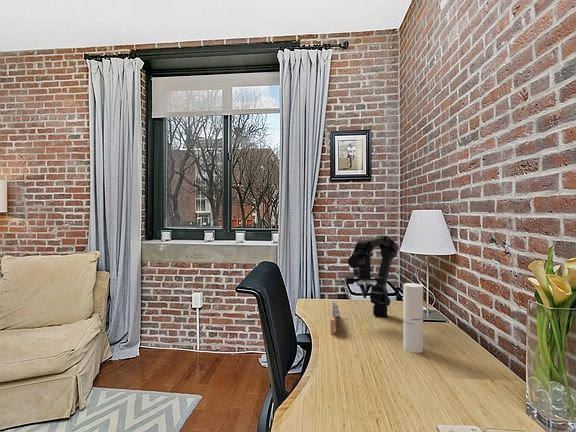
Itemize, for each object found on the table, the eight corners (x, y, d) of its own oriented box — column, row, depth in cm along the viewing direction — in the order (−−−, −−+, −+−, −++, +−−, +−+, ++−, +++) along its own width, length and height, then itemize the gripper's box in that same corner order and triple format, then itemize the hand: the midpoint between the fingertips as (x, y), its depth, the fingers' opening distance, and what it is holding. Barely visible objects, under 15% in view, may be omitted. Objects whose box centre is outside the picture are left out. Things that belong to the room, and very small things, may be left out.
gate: (333, 320, 159) (333, 306, 159) (337, 320, 159) (337, 306, 159) (335, 332, 143) (335, 316, 143) (340, 332, 143) (340, 316, 143)
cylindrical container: (424, 353, 123) (424, 287, 123) (404, 352, 125) (404, 286, 124) (420, 346, 130) (421, 283, 130) (402, 344, 132) (402, 282, 131)
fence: (335, 315, 169) (335, 301, 169) (340, 334, 142) (340, 317, 142) (328, 315, 170) (328, 300, 170) (330, 334, 143) (330, 317, 143)
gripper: (379, 263, 166) (379, 294, 166) (342, 263, 167) (342, 293, 167) (385, 267, 155) (385, 299, 155) (346, 266, 155) (346, 299, 155)
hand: (364, 298), depth 158 cm, fingers closed
